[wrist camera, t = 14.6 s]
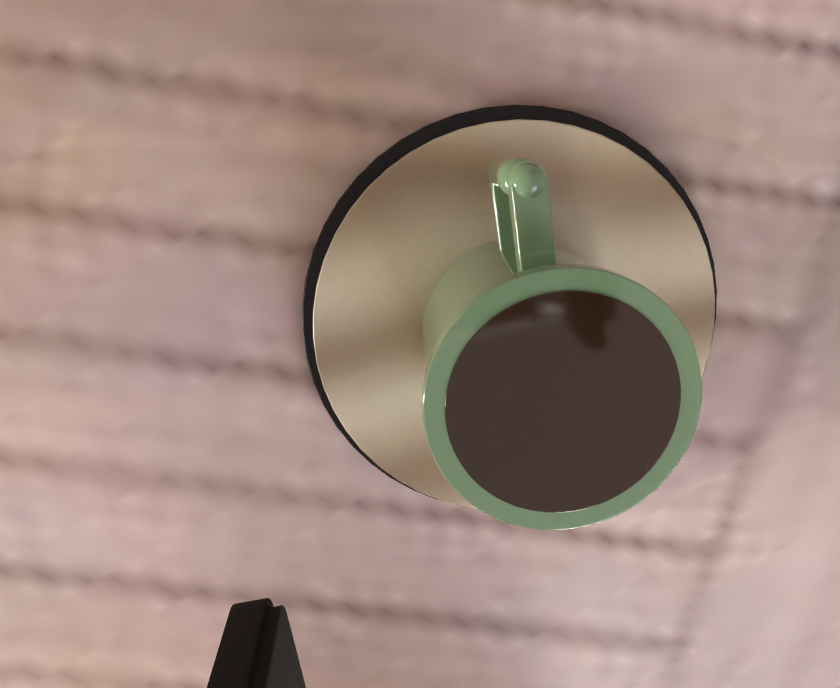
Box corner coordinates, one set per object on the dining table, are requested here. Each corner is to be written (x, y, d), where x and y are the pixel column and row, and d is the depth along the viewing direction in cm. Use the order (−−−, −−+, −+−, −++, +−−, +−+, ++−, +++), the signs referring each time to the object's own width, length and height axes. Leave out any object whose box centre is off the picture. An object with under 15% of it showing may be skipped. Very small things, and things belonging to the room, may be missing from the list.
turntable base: (251, 432, 29) (248, 438, 28) (388, 34, 25) (388, 32, 24) (604, 548, 31) (608, 555, 30) (784, 200, 27) (792, 201, 26)
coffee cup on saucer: (714, 470, 29) (835, 597, 21) (353, 528, 29) (340, 676, 21) (699, 87, 25) (845, 67, 17) (275, 156, 25) (223, 168, 17)
